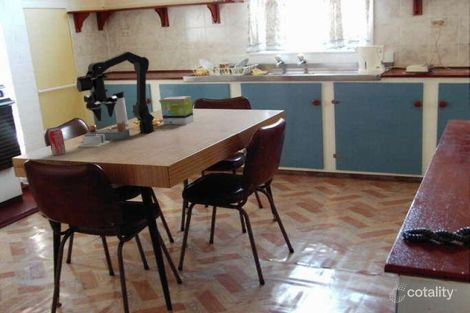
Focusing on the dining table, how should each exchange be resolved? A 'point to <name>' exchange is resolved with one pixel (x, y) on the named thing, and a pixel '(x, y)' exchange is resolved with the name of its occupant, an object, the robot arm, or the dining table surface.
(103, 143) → the rubber mat
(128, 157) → the dining table surface
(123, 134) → the hand plane
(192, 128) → the dining table surface
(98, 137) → the lever cap
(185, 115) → the tea box
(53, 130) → the beverage can
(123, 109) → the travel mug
